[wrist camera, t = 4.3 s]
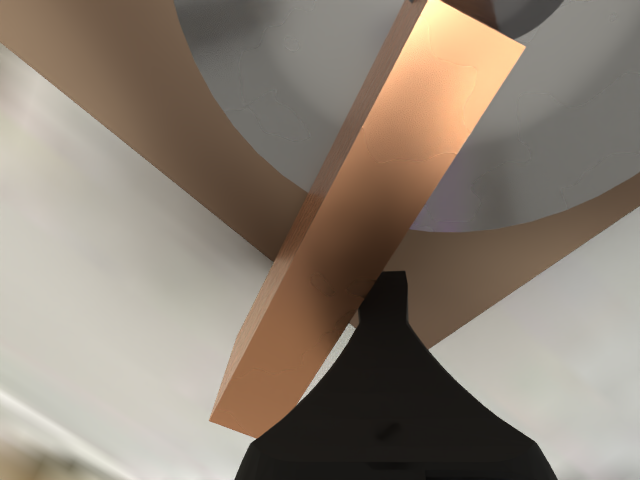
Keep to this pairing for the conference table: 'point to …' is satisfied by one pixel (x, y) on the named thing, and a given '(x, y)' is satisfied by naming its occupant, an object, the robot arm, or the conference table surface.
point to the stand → (252, 169)
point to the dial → (404, 143)
